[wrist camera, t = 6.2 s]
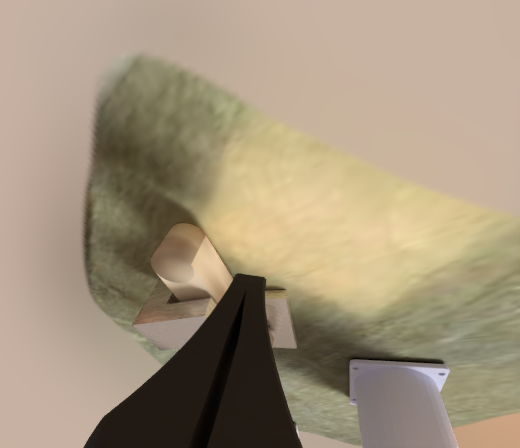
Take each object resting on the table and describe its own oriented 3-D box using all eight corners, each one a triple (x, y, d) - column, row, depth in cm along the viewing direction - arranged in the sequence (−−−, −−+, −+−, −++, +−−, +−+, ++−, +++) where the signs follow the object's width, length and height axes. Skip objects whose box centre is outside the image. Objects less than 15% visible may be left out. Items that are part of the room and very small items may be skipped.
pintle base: (297, 340, 24) (294, 393, 20) (225, 337, 25) (211, 386, 22) (286, 290, 20) (281, 346, 16) (201, 290, 21) (180, 342, 18)
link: (273, 337, 22) (270, 368, 20) (240, 339, 23) (233, 369, 21) (200, 218, 15) (184, 246, 13) (157, 228, 16) (136, 256, 14)
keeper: (246, 279, 20) (229, 345, 16) (189, 289, 21) (160, 350, 17) (227, 251, 18) (204, 315, 14) (167, 264, 20) (132, 325, 16)
